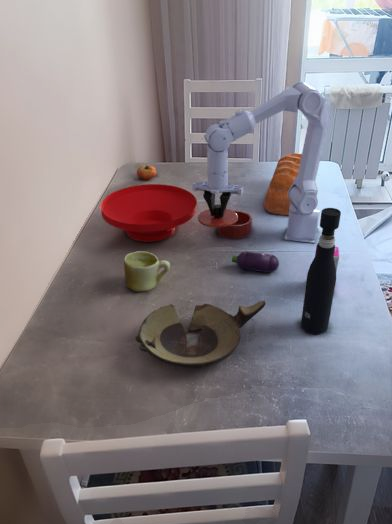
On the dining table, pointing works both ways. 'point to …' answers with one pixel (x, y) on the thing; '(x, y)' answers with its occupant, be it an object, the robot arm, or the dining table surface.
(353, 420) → the dining table surface
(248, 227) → the pot
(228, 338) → the olive round shallow dish
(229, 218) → the pot lid
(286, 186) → the bread
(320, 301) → the black bottle
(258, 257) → the eggplant
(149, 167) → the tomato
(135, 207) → the bowl
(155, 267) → the mug
